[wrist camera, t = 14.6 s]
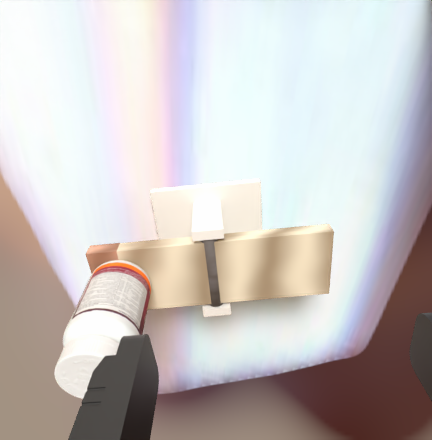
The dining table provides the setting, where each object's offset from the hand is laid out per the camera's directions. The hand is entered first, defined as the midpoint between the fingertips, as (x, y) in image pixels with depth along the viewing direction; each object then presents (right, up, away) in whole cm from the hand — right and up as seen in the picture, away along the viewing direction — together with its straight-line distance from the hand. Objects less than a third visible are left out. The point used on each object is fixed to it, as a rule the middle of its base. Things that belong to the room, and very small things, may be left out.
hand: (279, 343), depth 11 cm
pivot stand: (-3, +2, +31) cm, 32 cm away
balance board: (-2, -1, +26) cm, 26 cm away
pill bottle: (-12, -2, +25) cm, 28 cm away
